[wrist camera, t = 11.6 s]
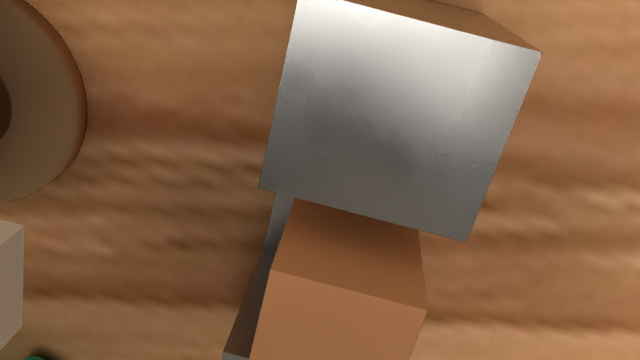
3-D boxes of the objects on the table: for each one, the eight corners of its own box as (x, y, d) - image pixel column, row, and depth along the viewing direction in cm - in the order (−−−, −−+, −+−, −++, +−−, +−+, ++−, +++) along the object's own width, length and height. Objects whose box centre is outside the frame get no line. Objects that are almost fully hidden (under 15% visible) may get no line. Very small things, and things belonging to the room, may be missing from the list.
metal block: (249, 321, 23) (199, 465, 17) (330, -27, 17) (299, -11, 11) (365, 351, 23) (359, 507, 17) (483, 13, 17) (542, 52, 11)
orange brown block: (309, 156, 18) (270, 269, 12) (411, 182, 18) (427, 310, 12) (287, 245, 20) (241, 389, 13) (382, 269, 20) (382, 425, 13)
